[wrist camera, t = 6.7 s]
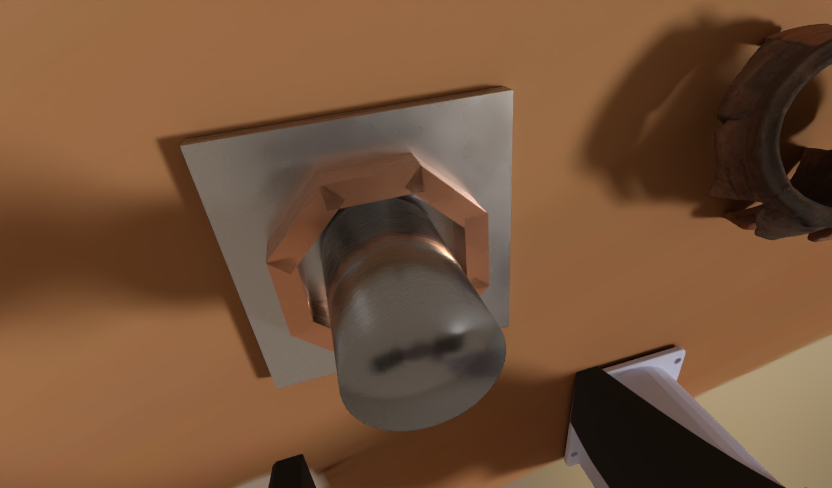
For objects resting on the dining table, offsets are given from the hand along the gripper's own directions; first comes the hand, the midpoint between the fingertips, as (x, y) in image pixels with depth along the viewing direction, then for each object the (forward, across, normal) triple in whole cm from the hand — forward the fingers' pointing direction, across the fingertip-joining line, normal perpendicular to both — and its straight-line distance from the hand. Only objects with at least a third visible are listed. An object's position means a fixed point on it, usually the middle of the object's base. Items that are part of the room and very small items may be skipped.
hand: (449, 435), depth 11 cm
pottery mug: (+10, -20, -2) cm, 23 cm away
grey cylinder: (+9, 0, 0) cm, 9 cm away
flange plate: (+10, 0, 0) cm, 10 cm away
